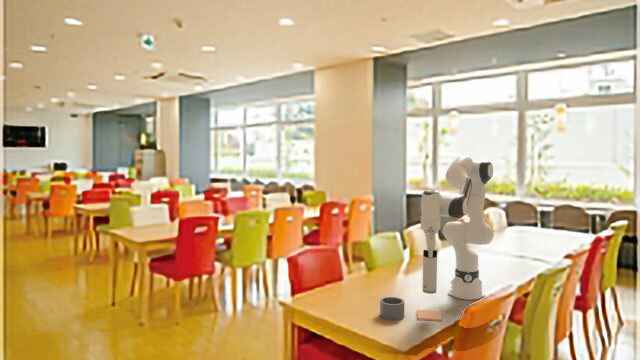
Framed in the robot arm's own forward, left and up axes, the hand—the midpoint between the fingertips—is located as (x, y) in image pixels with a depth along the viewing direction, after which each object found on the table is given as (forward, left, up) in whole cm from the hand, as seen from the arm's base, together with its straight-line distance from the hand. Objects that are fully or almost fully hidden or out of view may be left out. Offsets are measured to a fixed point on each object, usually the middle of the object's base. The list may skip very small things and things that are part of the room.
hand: (430, 255), depth 211 cm
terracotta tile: (0, 0, -29) cm, 29 cm away
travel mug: (0, 0, -17) cm, 17 cm away
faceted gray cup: (+3, -17, -29) cm, 34 cm away
